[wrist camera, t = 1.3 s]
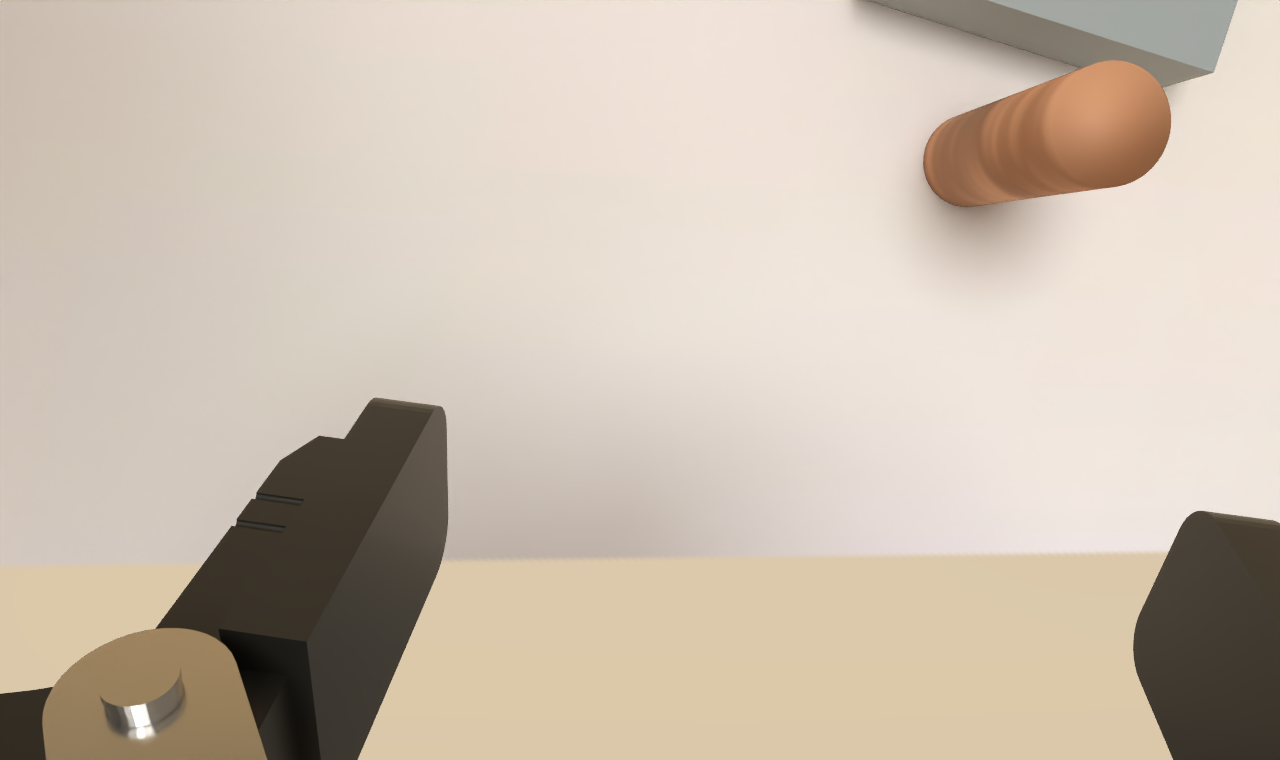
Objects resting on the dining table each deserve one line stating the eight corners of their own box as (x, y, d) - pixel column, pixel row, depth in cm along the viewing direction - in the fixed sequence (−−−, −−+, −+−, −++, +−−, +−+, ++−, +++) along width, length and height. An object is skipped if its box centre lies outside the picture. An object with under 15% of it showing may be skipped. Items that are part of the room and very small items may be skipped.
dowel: (909, 136, 37) (1032, 91, 27) (993, 99, 37) (1146, 39, 27) (943, 221, 37) (1076, 207, 27) (1025, 184, 37) (1188, 156, 27)
